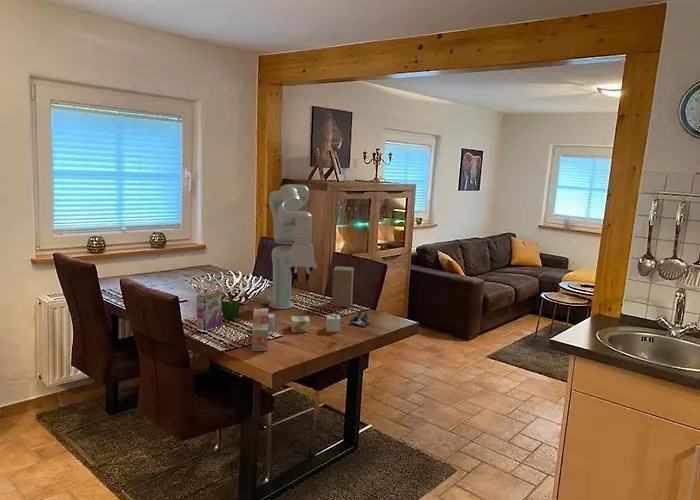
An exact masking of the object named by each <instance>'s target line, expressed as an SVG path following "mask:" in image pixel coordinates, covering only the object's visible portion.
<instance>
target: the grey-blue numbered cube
mask: <svg viewBox="0 0 700 500" xmlns="http://www.w3.org/2000/svg"><path fill="white" fill-rule="evenodd" d="M274 327H275V314H274V313H268V331H274Z"/></svg>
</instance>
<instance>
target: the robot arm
mask: <svg viewBox="0 0 700 500" xmlns="http://www.w3.org/2000/svg"><path fill="white" fill-rule="evenodd" d="M309 199H310V190H309V188H308V187H307V186H306V185H305V184H295V183H293V184H290V183H288V184H283V185H282V186H280V188H279V190H274V191H271V192H270V193H269V195H268V205H269V207H270V208H269V209H270V212H271V214H272V219H273V220H272V221H273V224H272V225H273V239H274V242H275V243H277V244H283V245H282V246H281V245H279V246H276V247H274V248H273V249H272V250H271V260H272V261H271V262H272V296H271V295H268V296H267V297H266V301H270V303H269V307H270V308H273V309H277V310H287V309H291V308H293V307H294V306H295V304H294V303H293V302H292V301H291V300H292V271H293V272H294V280H295V282H296V283H298V281H299V272H298V268H306V271H305V283H307V282H308V281H309V278H310V273H311V272H312V271H313V270H315V269H316V268H318V264H317V263H316V261H315V254H314V253H315V252H314V251H315V250H314V244H313V243H312V235H313V234H312V233H313V231H312V230H313V229H312V228H313V215H312V214H311V213H310V212H309V211H306V210H300V209H301V207H303V206H304V205H305V204H306V203H307V202H308V201H309ZM285 244H286V245H285ZM287 244H291V245H287Z"/></svg>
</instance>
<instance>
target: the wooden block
mask: <svg viewBox="0 0 700 500" xmlns="http://www.w3.org/2000/svg"><path fill="white" fill-rule="evenodd" d="M354 270H355V268H354V266H339V265H337V266H335V267H334V269H333V270H332V272H333V273H332V292H331V293H332V294H331V306H332V307H337V308H338V307H339V308H351V306H352V304H353V293H354V275H355V274H354V272H355V271H354Z"/></svg>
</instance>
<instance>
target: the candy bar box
mask: <svg viewBox="0 0 700 500" xmlns="http://www.w3.org/2000/svg"><path fill="white" fill-rule="evenodd" d="M222 293H223V292H220V291H217V290H212V291H209V292H204V293H199V294H197V295H196V316H195V317H196V320H195V321H196V322H195V323H196V324H195V325H196V327H195V328H196V329H199V330H204V331H205V330H208V329H212V328H215V327H219V326H221V327H222V300H223V299H222V297H223V296H222V295H223V294H222Z"/></svg>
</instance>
